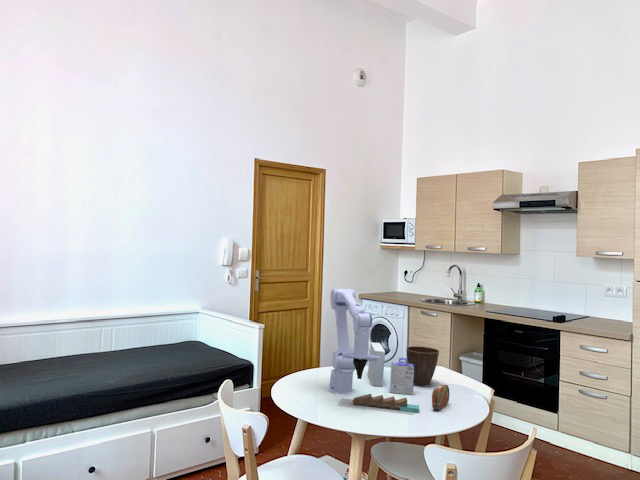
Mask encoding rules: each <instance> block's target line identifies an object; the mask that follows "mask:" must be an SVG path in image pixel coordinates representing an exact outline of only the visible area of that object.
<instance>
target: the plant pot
mask: <svg viewBox="0 0 640 480" xmlns="http://www.w3.org/2000/svg"><path fill="white" fill-rule="evenodd" d="M439 354H440V350H438V349H437V348H433V347H428V346H416V345H415V346H414V345H413V346H407V347H406V358H407V364H414V384H413V385H416V386H418V387H428V386H430V385H431V382H432V380H433V378H434V374H435V371H436V368H437V364H438V361H439V360H438V359H439Z"/></svg>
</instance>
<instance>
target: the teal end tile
mask: <svg viewBox="0 0 640 480" xmlns="http://www.w3.org/2000/svg"><path fill="white" fill-rule="evenodd" d="M400 411H405V412H414V413H415V414H419V413H420V404H413V403H411V404H410V403H407V405H405V406H401V407H400Z"/></svg>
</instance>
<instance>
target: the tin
mask: <svg viewBox="0 0 640 480" xmlns="http://www.w3.org/2000/svg"><path fill="white" fill-rule="evenodd" d="M449 401H450V388H449V385H448V384H439V385H438V386H437V387H434V389H433V390H432V393H431V408H432V409H433V410H434V411H438V412H441V411H443V410H444V408H446V407H447V406H448V404H449Z"/></svg>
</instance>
